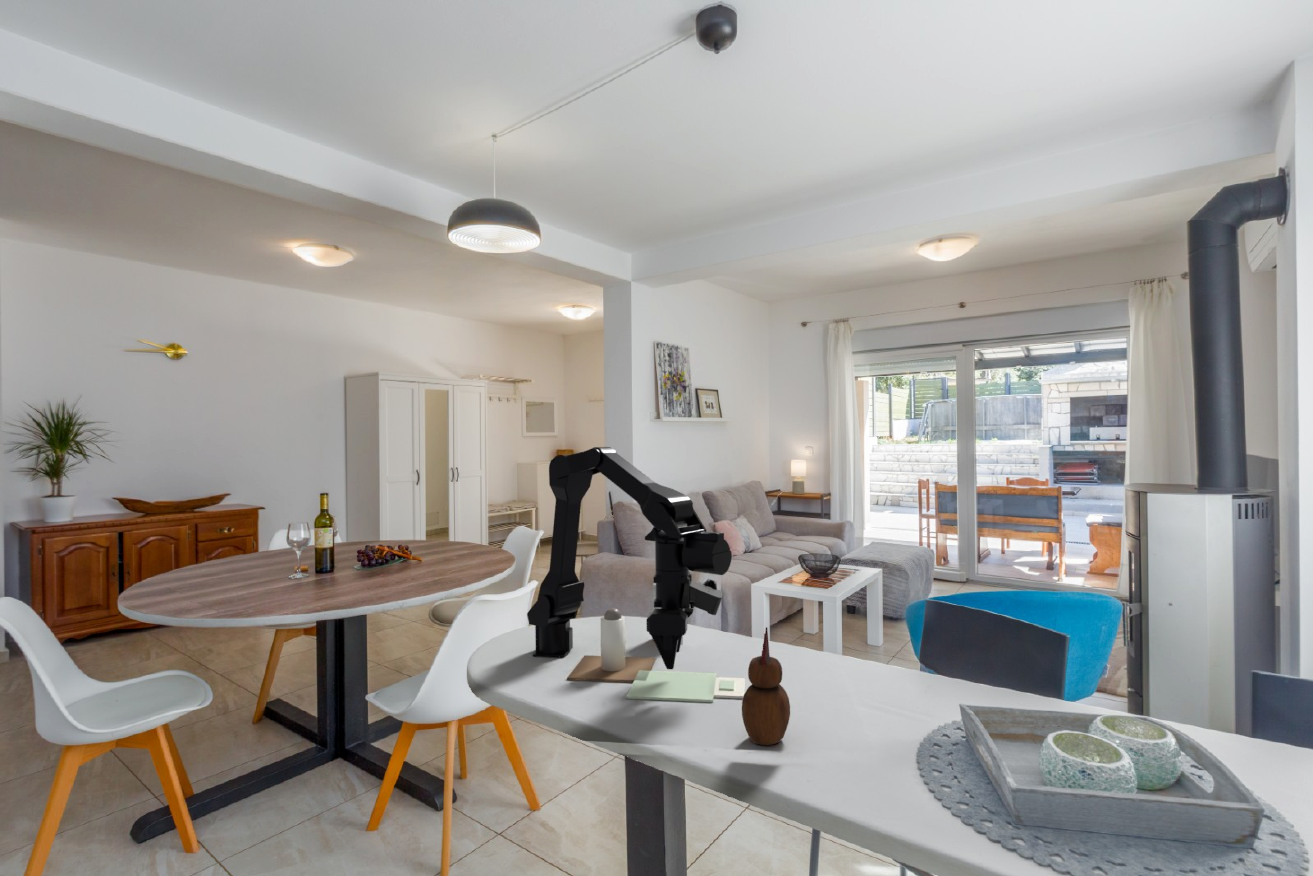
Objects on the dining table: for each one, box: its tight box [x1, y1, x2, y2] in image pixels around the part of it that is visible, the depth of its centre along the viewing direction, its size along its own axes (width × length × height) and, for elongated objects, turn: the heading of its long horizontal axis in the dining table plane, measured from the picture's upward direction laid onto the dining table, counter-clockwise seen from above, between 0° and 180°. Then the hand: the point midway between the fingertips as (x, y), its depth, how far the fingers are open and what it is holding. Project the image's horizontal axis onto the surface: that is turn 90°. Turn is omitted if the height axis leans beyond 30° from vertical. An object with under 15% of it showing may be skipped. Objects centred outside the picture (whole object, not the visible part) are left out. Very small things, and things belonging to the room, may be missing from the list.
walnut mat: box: [566, 654, 657, 684], centre depth 116 cm, size 14×12×1 cm
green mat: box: [626, 670, 718, 703], centre depth 107 cm, size 14×12×1 cm
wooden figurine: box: [741, 626, 791, 746], centre depth 88 cm, size 7×6×15 cm
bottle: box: [600, 607, 626, 671], centre depth 116 cm, size 4×4×11 cm
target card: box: [709, 676, 746, 700], centre depth 106 cm, size 6×8×1 cm
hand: (673, 660), depth 108 cm, fingers open, 8 cm apart
